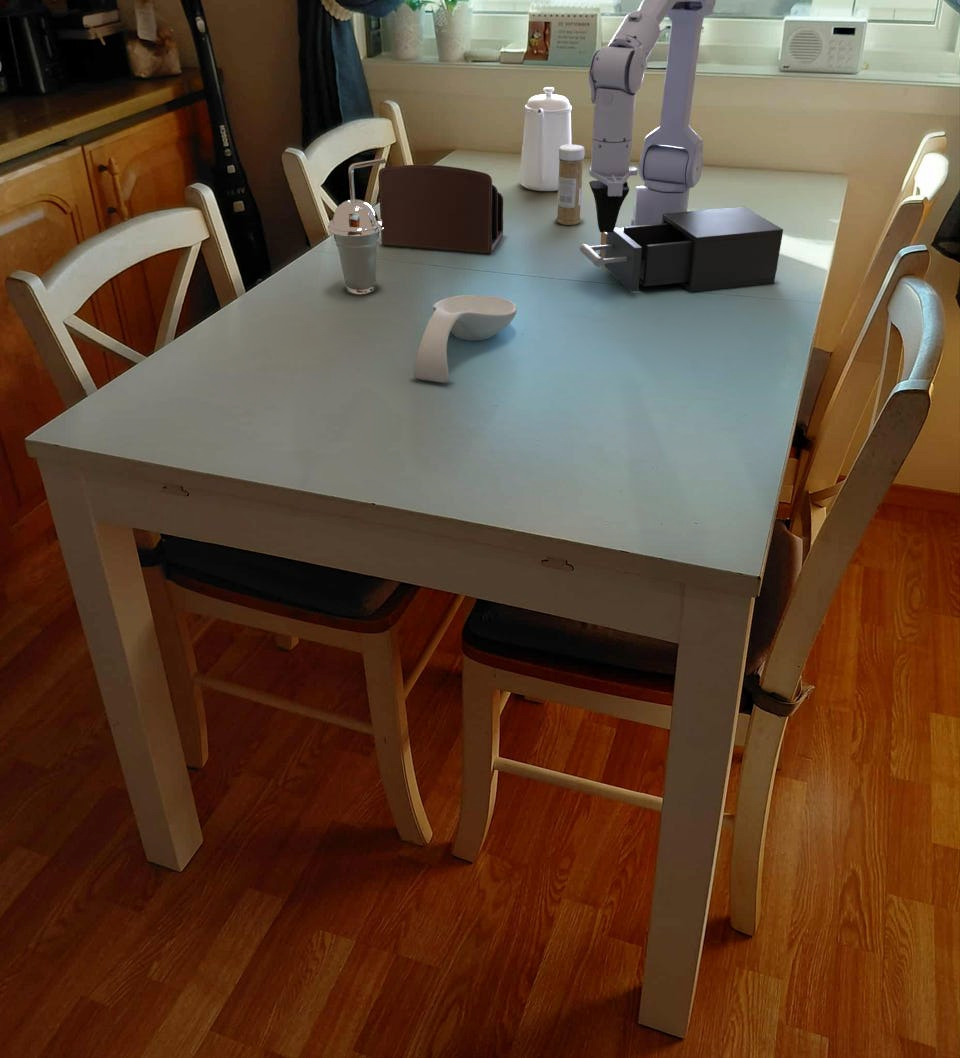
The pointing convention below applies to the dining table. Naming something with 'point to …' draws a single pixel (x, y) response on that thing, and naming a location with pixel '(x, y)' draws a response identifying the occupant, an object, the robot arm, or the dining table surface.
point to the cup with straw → (357, 238)
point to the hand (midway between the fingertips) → (606, 230)
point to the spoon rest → (459, 329)
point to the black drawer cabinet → (728, 247)
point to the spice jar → (570, 184)
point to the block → (604, 242)
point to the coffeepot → (544, 140)
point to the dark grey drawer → (645, 255)
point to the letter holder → (439, 208)
